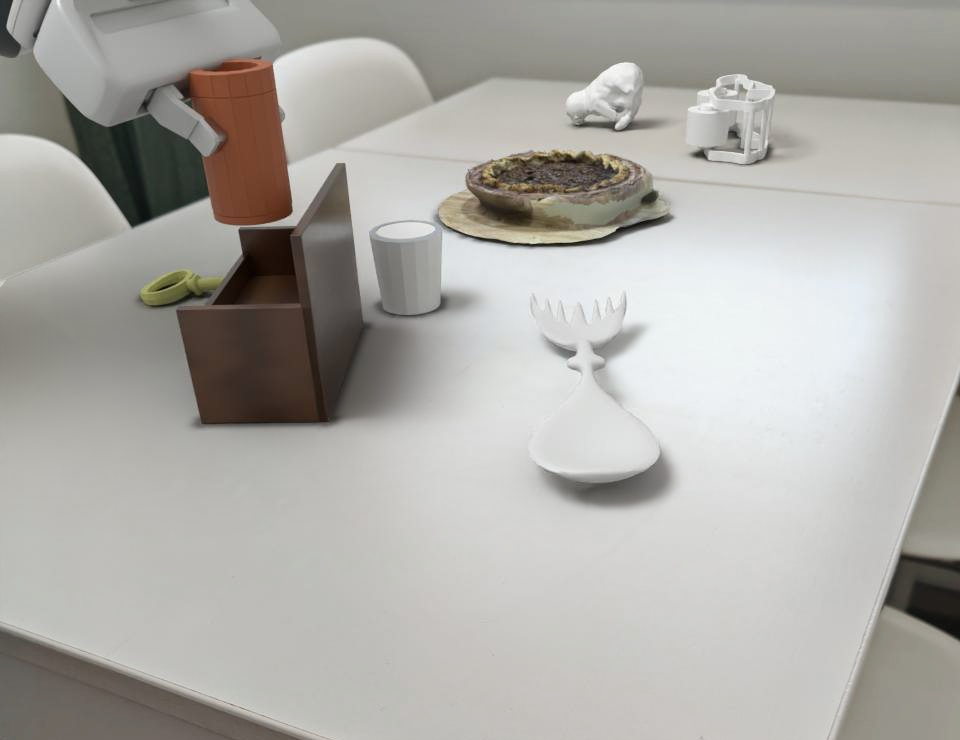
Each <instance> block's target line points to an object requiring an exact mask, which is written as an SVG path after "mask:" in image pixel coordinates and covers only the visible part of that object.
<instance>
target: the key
mask: <svg viewBox="0 0 960 740" xmlns="http://www.w3.org/2000/svg"><path fill="white" fill-rule="evenodd" d="M224 278H225V276H218V277H217V276H215V277H214V276H213V277H204V278H202V277H201V276H200V275H199V274H195V273H194V271H193V270H192V269H186V268H185V269H178V270H173V271H171V272H168V273H166V274H163V275H161V276H159V277H157V278H155V279H154V280H152V281H151V282H150V283H147V285H145V286H144V287H143V288H142V289H141V290H140V298H141V300H142V301H143V303H144V304H145V305H147V306H162V305H166V304H170V303H173V302H175V301H177V300H180V299H182V298H184V297H186V296H187V295H188V294H190V293H194V294H195V295H196V296H201V295H203V293H204V292H206V291H207V292H209V291H215V290H216V289H217V287H218V286H219V285H220V283H221V282H222V280H223V279H224ZM167 286H170V287H168V288H165V289H162V288H163V287H167ZM160 289H161V290H160Z"/></svg>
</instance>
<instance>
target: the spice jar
mask: <svg viewBox="0 0 960 740" xmlns="http://www.w3.org/2000/svg"><path fill="white" fill-rule="evenodd" d="M187 80H188V85H189V91H190V96H191V100H190V101H191V106H192V109H193V110H194V111H195V112H197V113H198V114H200V115H201V116H202V117H204V119H205V118H209V117H212V118H213V119H214V120H215V121H216V122H217V123H218V124H219V127H220V128H222V129H223V130H224V131H225V132H226V134H227V137H228V138H227V142H226V144H225V145H224V146H223V148H222V150H221V151H220V152H218V153H215V154H213V155H210V156H207V157H205V156H203V155H202V154H201V159H202V163H203V169H204V174H205V179H206V180H205V181H206V185H207V189H208V195H209V201H210V206H211V210H212V215H213V218H214V220H215V221H216V222H218V223H220V224H223V225H226V226H227V225H228V226H240V227H250V226H259V225H266V224H271V223H275V222H278V221H281V220H284V219H286V218H288V217H290V216H291V215H292V214H293V212H294V208H293V196H292V190H291V183H290V182H291V181H290V176H289V175H290V174H289V168H288V162H287V153H286V147H285V140H284V132H283V126H282V124H281V118H280V111H279V106H280V105H279V98H278V92H277V85H276V76H275V71H274V63H273V64H272V63H271V62H270V61H265V60H260V59H232V60H228V61H225V62H222V65H221V66H220V67H219V68H218V69H217V70H214V71H211V72H210V71H203V70H201V69H197V70H194V71H190V72H189V77H188V78H187Z"/></svg>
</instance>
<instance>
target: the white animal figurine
mask: <svg viewBox="0 0 960 740" xmlns="http://www.w3.org/2000/svg"><path fill="white" fill-rule="evenodd" d="M644 85H645V83H644V73H643V71H642V69H641V67H639V66H638V65H637V64H636V63H635V62H629V61H626V62H619V63H615V64H614V65H611V66H610V67H608V68H607V69H605V70H604V71H602V72H601V73H600V74H599V75H598V76H597V77H596V78H595V79H593V80H592V82H591V83H590V84H589V85H588V86H586V87H585V88H584V89H582V90H578V91H575V92H573V93H571V94H570V95H569V96H568V97H567V99H566V100H565V112H566V113H565V114H566V115H567V117H568V118H570V120H571V122H572V123H573V125H574V126H580V125H583V124H584V123H585V121H586V118H587V117H588V116H590V115H593V116H597V117H603V118H605V119H607V120H610V121H615V120H616V119H617V117H618V114H621V113H623V112H625V113H624V114H623V115H622V117H620V118H619V119H618V120H617V122H616V123H615V125H614V129H615V131H618V132H619V131H622V130H624V129H625V128H627V126H629V124H630V123H632V121H633V120H634V119H635V117H636V116H637V115H638V112H639V110H640V107H641V106H642V102H643V92H644V87H645V86H644Z"/></svg>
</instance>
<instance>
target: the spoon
mask: <svg viewBox="0 0 960 740" xmlns="http://www.w3.org/2000/svg"><path fill="white" fill-rule="evenodd" d="M529 298H530V300H529V307H530V311H531V314H532V317H533V319H534V322H535V324H536V326H537V329H538V330H539V331H540V333H541V334H542V335H543V336H544V338H546V339H547V340H548V341H549V342H550V343H553V344H555V345H556V346H558V347H559V348H562V349H565V350H568V351H572V352H576V353H575V355H574V356H572V357H569V358H568V359H567V360H566V362H565V364H566V367H567V368H568V369H570V370H572V371H576V372H578V373H580V380H579V382H578V385H577V387H576V388H575V389H574V391H573V392H572V393H571V394H570V395H569V396H568V397H566V399H564V400H563V401H562V402H561V403H560V404H558V406H557V407H556V408H555V409H554V410H553V411H551V412H550V413H549V414H548V415H547V416H546V417H545V418H543V420H541V421H540V423H538V424H537V426H536V427H535V429H534V430H533V432H532V434H531V437H530V438H529V439H530V440H529V442H528V454H529V456H530V458H531V459H532V461H533V462H534V463H535V464H536V465H537V466H539V467H540V468H541V469H542V470H544V471H545V472H548V473H550V474H551V475H554V476H558V477H560V478H563V479H566V480H569V481H575V482H580V483H586V484H588V483H590V484H604V483H606V484H607V483H613V482H619V481H622V480H623V481H624V480H626V479H629V478H632V477H635V476H637V475H639V474H641V473H643V472H645V471H647V470H649V468H651V467H652V466H653V465H654V464H655V463H656V462H657V461H658V460H659V458H660V455H661V448H660V445H659V443H658V440H657V438H656V436H655V434H654V433H653V431H652V430H651V429H650V428H649V426H648V425H647V424H646V423H645V422H643V421H642V420H641V419H640V418H639V417H637V416H636V415H634V413H632V412H631V411H630V410H628V409H627V408H626V407H624V406H623V405H622V404H620V403H619V402H618V401H617V400H616V399H615V398H613V397H612V396H610V395H609V394H608V393H607V392H606V391H605V390H604V389H603V388H602V386H600V384H599V383H598V381H597V378H596V376H595V372H596V371H599V370H602V369H603V368H605V367H606V365H607V361H606V359H605V358H604V357H602V356H600V355H598V354H595V352H594V350H596V349H598V348H600V347H602V346H604V345H606V344H607V343H609V342H610V341H612V340H613V339H614V338H615V337H616V336H617V334H618V333H619V332H620V331H621V329H622V326H623V324H624V321H625V316H626V312H627V307H628V305H627V302H628V301H627V293H626V291H625V290H622V292H621V294H620V299H619V302H618V306H617V307H615V309H614V307H613V303H612V299H611V297H610V296H608V297H607V299H606V305H605V306H606V307H605V312H604V316H603V317H602V316H601V312H600V307H599V303H598V300H597V299H595V300H594V301H593V302H594V303H593V309H592V316H591V320H590V323H589V324H588V322H587V319H586V316H585V311H584V308H583V305H582V304H581V303H580V302H579V301H576V303H575V305H574V307H573V311H572V316H571V322H570V323H568V321H567V319H566V314H565V311H564V306H563V303H562V301H561V300H558V304H557V313H556V314H557V315H556V316H554V314H553V311H552V307H551V305H550V302H549V301H550V300H549V299H548V298H545V303H544V307H543V309H542V308H541V307H540V305H539V304H538V301H537V299H536V295H534V293H531V294H530V297H529Z"/></svg>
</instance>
